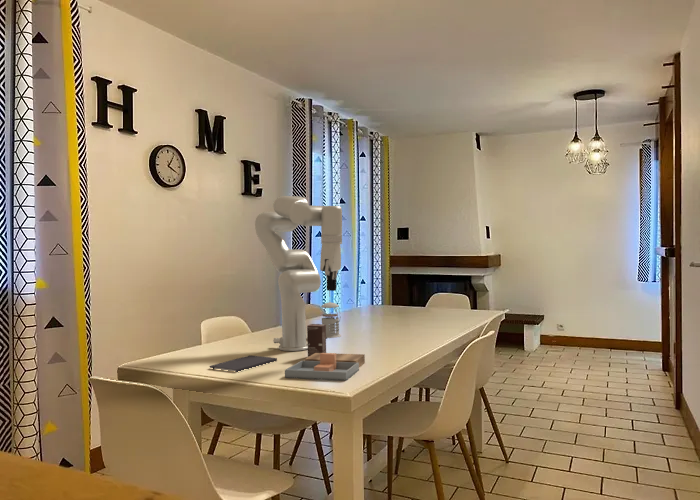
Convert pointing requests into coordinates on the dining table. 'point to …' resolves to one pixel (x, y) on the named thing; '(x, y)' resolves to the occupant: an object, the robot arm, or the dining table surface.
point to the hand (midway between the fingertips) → (331, 290)
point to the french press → (331, 321)
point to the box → (316, 338)
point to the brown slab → (341, 358)
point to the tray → (307, 371)
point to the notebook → (243, 363)
